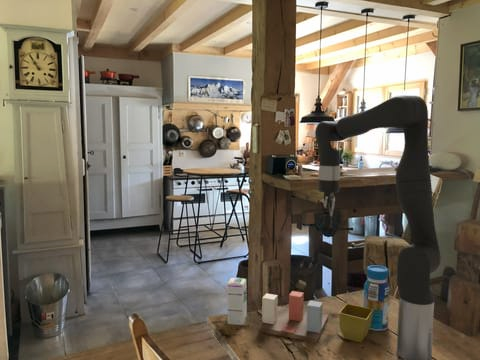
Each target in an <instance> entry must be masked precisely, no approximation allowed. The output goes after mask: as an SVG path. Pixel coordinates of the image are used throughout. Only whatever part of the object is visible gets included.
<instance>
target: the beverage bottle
mask: <svg viewBox="0 0 480 360" xmlns="http://www.w3.org/2000/svg"><path fill="white" fill-rule="evenodd" d="M366 278H367V279H366V280H365V282H364V283H363V289H364V290H363V292H362V307H366V308H370V309H373V315H372V321H371V326H370V328H369V331H375V332H376V331H377V332H380V331H381V332H382V331H383V332H384V331H386V330H387V329H388V328H389V313H390V299H391V297H390V288H391V287H390V285H389V283H388V282H387V281H388V278H389V269H388V267H386V266H382V265H379V264H378V265H375V264H374V265H368V266H367V268H366Z"/></svg>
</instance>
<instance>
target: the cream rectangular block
mask: <svg viewBox="0 0 480 360" xmlns="http://www.w3.org/2000/svg"><path fill="white" fill-rule="evenodd" d="M278 300H279V296H278V294H272V293H268V292H267V293H265V294H264V295H263V296H262V299H261V303H262V304H261V306H262V310H261V323H269V324H274V323H275V322H276V321H277V309H278V306H279V305H278V303H279V302H278Z"/></svg>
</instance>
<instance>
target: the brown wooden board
mask: <svg viewBox="0 0 480 360" xmlns="http://www.w3.org/2000/svg"><path fill="white" fill-rule="evenodd" d="M328 321H329V314H326V313H322V328H321V330H320V332H319V333H316V332H310V331H307V310H303V318H302V320H301V321H295V320H290V319H289V307H287V306H286V307H284V306H279V305H278V309H277V321H276V322H275V323H274V324H269V323H263V322H261V324H260V325H259V327H258V332H261V333H264V334H265V333H266V334H269V335H270V334H271V335H275V336H281V337H285V338H290V339H296V340H301V341H306V342H309V343H315V344H317V343H318V341H319V340H320V337H321V335H322V333H323V330H324V329H325V326H326V325H327V323H328Z"/></svg>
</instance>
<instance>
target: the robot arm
mask: <svg viewBox="0 0 480 360" xmlns="http://www.w3.org/2000/svg"><path fill="white" fill-rule="evenodd" d="M387 128H392V129H398V130H400V129H403V136H404V145H403V146H404V147H403V152H402V155H401V158H400V160H399V163H398V165H397V169H396V172H395V186H396V187H395V188H396V195H397V201H398V203H399V205H400V207H401V209H402V211H403V212H402V213H404V216H405V218H406V220H407V224H408V227H409V240H410V241H409V245H407V246H404V247H403V248H402V249H401V250H400V251H399V254H398V256H397V261H396V263H397V264H396V286H397V288H398V294H399V298H398V315H397V316H398V319H397V320H398V321H397V336H396V354H397V356H398V357H399V358H401V360H432V355H433V338H434V327H433V325H434V314H435V313H434V311H435V310H434V309H435V296H436V295H435V292H434V289H432V288H431V287H430V285H431V283H430V282H431V280H430V279H431V274H432V273H434V272H435V271H437V269H438V268H439V266H440V264H441V261H442V260H441V258H442V257H441V250H440V246H439V241H438V237H437V231H436V225H435V215H434V212H435V211H434V203H433V188H432V177H431V170H430V156H429V145H428V144H429V141H428V140H429V139H428V138H429V110H428V105H427V103H426V101H425V99H424V98H422V97H421V96H418V95H395V96H392V97H391V98H388V99H386V100H384V101H383V102H381V103H379V104H377V105H376V106H374V107H371V108H368V109H367V110H364V111H359V112H357V113H353V114H349V115H346V116H344V117H340V118H339V119H338V120H337V121H327V120H326V121H324V120H323V121H320V122H319V123H318V124H317V125H316V127H315V130H314V131H315V132H314V134H315V140H316V144H317V149H318V151H319V152H318V153H319V163H318V164H319V167H318V178H317V179H318V180H317V181H318V182H317V190H318V192H319V193H323V196H322V197H321V204H320V205H321V210H322V216H323V217H324V224H323V225H324V227H328V228H330V227H331V226H332V216H333V213H334V209H335V202H336V196H335V195H334V193H335V194H336V193H339V192H340V189H341V167H340V166H341V152H340V150H339V149H337V148H334V147H333V146H332V144H331V142H334V143H335V142H342V141H345V140H347V139H349V138H354V137H357V136H361V135H365V134H367V133H369V132H370V131H373V130H375V129H387Z"/></svg>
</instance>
